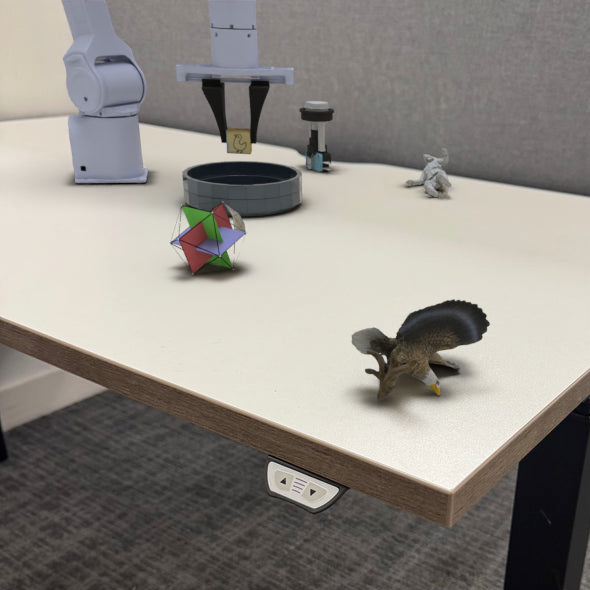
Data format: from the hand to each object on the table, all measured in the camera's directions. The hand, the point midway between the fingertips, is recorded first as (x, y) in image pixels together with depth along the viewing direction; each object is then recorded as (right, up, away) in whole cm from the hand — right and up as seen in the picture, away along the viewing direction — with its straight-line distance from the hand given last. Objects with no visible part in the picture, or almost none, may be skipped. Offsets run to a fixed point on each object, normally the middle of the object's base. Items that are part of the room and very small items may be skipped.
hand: (239, 142), depth 104 cm
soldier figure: (+26, -3, +13) cm, 29 cm away
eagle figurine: (+23, -33, -45) cm, 60 cm away
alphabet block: (0, -1, +1) cm, 2 cm away
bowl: (0, -8, +1) cm, 8 cm away
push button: (+8, +3, +22) cm, 23 cm away
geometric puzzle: (+2, -21, -24) cm, 32 cm away
